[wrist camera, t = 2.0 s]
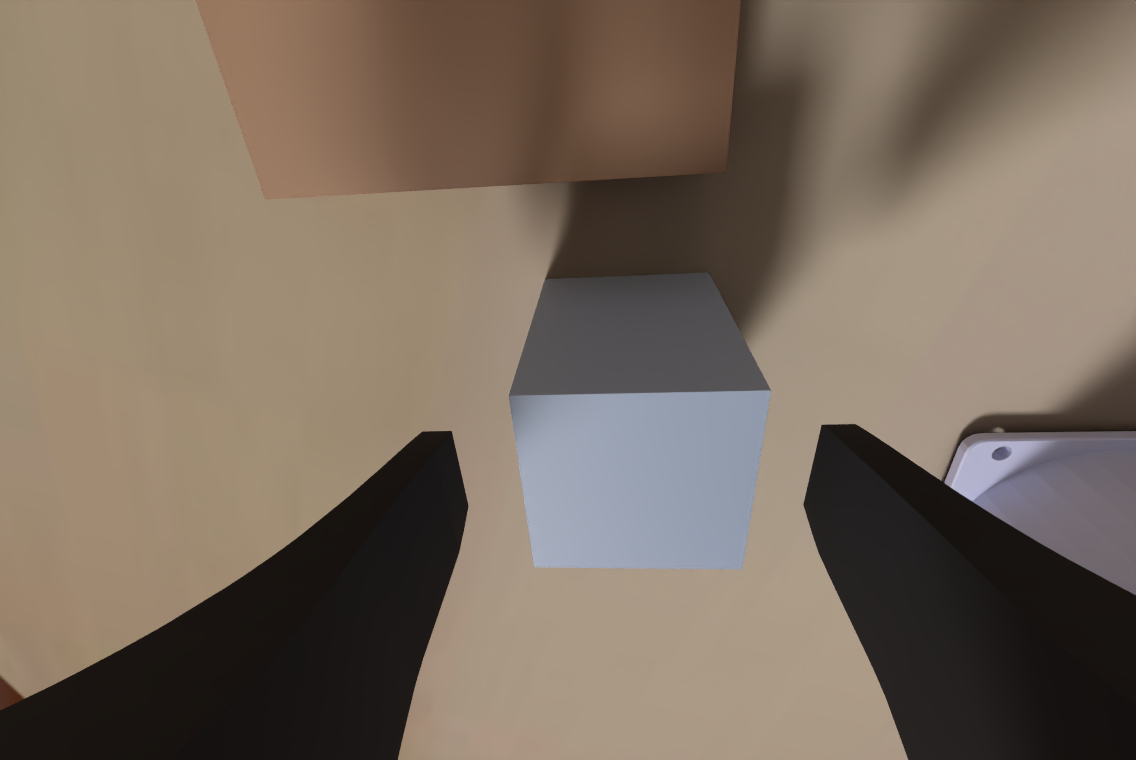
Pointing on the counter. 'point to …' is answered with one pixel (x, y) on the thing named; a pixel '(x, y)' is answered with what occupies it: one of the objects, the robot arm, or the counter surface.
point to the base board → (475, 90)
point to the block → (637, 424)
